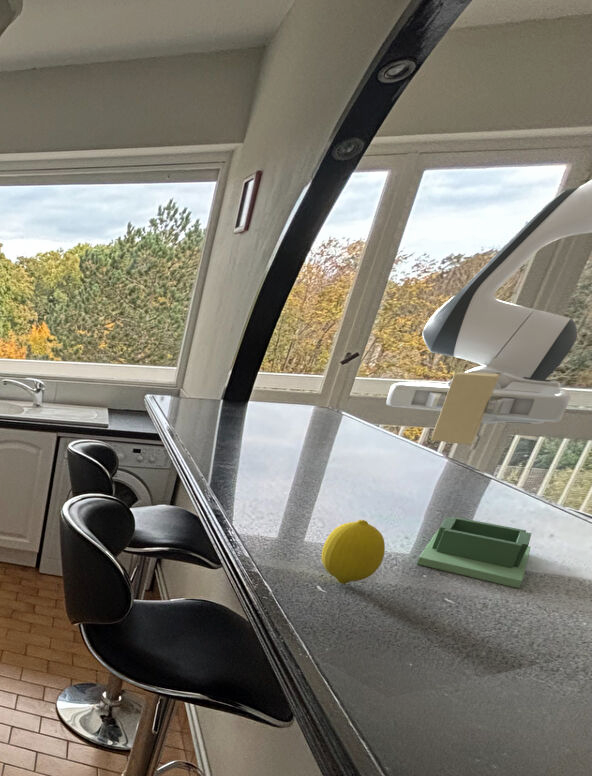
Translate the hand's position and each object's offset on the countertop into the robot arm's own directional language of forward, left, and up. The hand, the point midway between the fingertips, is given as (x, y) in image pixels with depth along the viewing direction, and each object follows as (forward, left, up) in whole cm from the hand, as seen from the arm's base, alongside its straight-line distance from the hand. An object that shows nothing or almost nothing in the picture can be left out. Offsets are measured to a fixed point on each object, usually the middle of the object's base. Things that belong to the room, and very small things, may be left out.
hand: (465, 405), depth 88 cm
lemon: (+23, +37, -17) cm, 46 cm away
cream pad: (0, -1, -5) cm, 6 cm away
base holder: (+4, +22, -17) cm, 28 cm away
